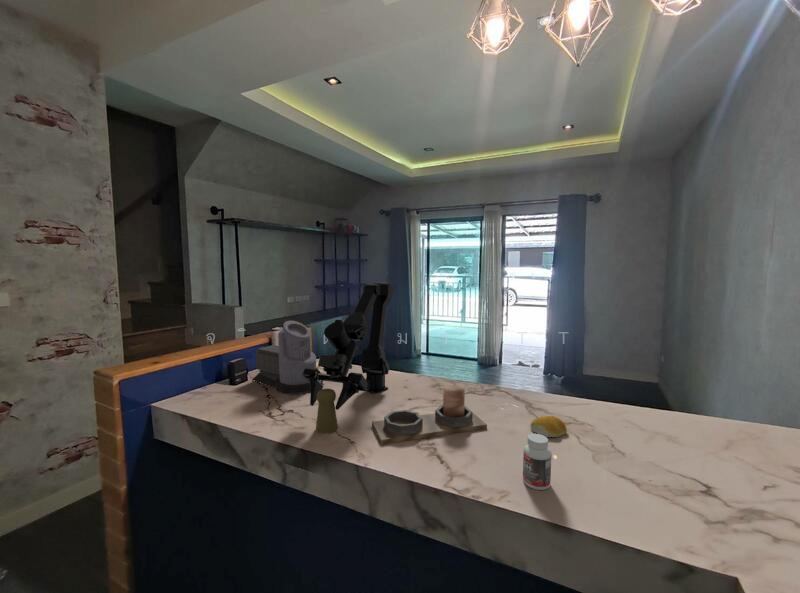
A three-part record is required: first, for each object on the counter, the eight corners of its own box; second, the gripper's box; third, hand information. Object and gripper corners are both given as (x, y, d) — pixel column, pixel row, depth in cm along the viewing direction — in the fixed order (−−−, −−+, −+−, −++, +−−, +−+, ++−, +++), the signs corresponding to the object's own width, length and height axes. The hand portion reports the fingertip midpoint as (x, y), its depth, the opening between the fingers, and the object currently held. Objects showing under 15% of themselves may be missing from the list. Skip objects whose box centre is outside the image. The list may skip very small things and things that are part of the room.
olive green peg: (340, 424, 102) (339, 386, 101) (334, 434, 96) (333, 394, 95) (319, 423, 103) (318, 385, 102) (312, 433, 97) (311, 393, 96)
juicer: (332, 385, 136) (330, 320, 133) (298, 398, 122) (296, 327, 120) (280, 371, 152) (278, 314, 150) (246, 382, 139) (243, 319, 137)
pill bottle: (518, 483, 74) (519, 438, 74) (528, 472, 79) (529, 429, 78) (545, 494, 71) (547, 447, 70) (554, 482, 75) (555, 437, 74)
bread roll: (571, 433, 97) (572, 418, 97) (551, 442, 92) (552, 427, 92) (544, 421, 104) (545, 408, 104) (524, 429, 99) (525, 415, 99)
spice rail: (381, 444, 91) (381, 405, 90) (372, 425, 101) (371, 390, 100) (486, 428, 99) (487, 392, 98) (468, 412, 110) (468, 380, 109)
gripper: (304, 340, 104) (281, 389, 95) (362, 345, 98) (343, 398, 89) (320, 360, 113) (299, 407, 103) (374, 365, 106) (358, 416, 97)
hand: (323, 407), depth 98 cm, fingers open, 8 cm apart
